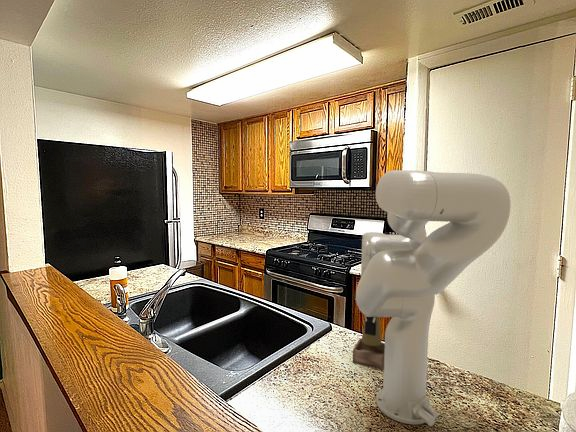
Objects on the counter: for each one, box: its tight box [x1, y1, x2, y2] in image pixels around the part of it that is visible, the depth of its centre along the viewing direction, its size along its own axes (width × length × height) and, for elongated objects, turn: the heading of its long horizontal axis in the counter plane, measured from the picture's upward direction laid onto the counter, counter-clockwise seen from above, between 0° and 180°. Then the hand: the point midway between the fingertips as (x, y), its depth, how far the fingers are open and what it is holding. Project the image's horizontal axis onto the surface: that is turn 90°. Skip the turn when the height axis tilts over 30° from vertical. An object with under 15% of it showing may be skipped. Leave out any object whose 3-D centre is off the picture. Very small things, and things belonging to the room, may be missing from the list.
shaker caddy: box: [352, 337, 385, 371], centre depth 96 cm, size 9×9×4 cm
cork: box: [361, 314, 383, 346], centre depth 95 cm, size 6×6×11 cm
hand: (371, 331), depth 95 cm, fingers closed on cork, 3 cm apart
